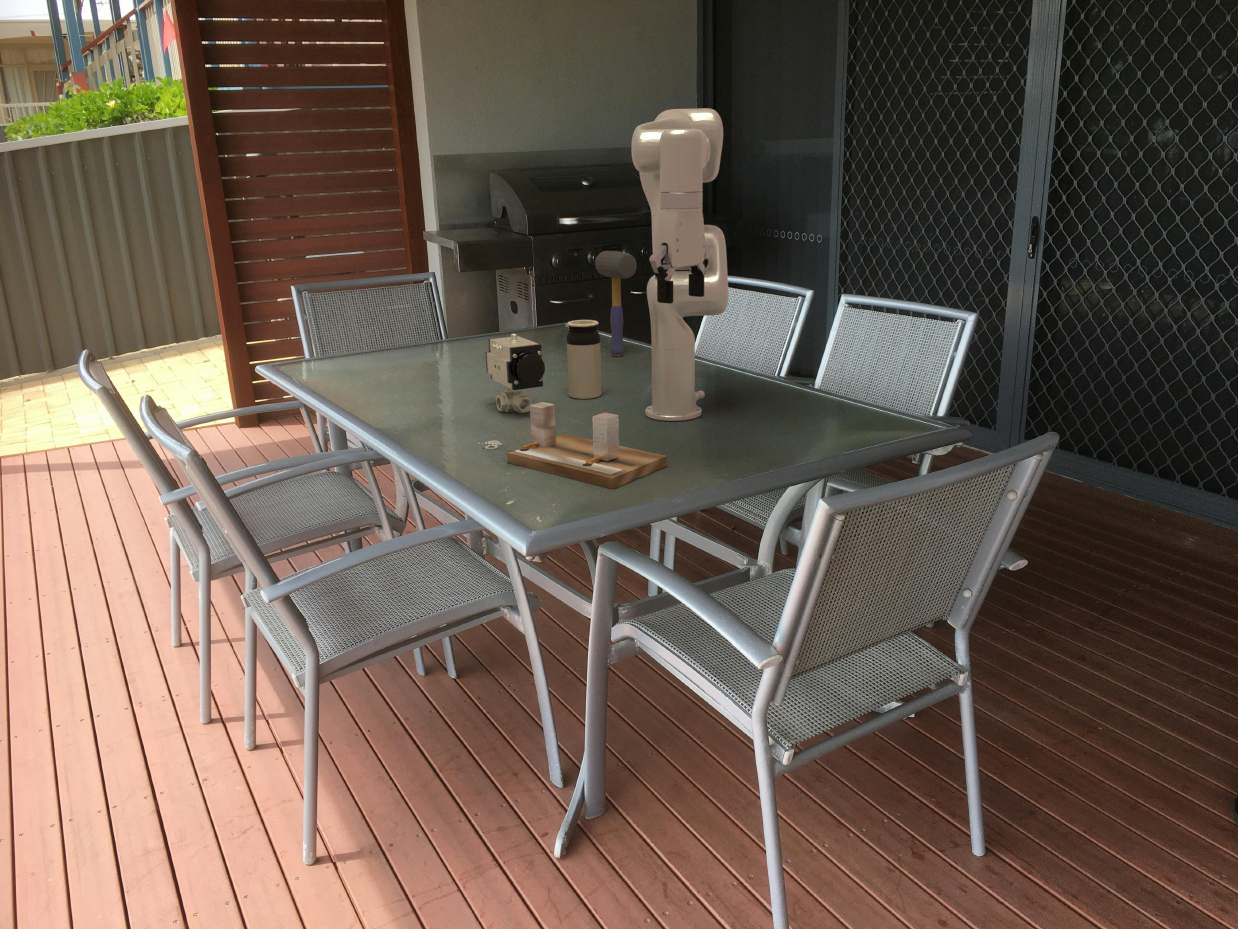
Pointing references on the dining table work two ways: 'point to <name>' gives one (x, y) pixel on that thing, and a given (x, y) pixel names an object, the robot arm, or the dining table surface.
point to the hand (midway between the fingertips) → (681, 299)
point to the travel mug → (584, 359)
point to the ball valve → (515, 370)
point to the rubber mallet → (616, 290)
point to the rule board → (579, 454)
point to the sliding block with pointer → (605, 437)
